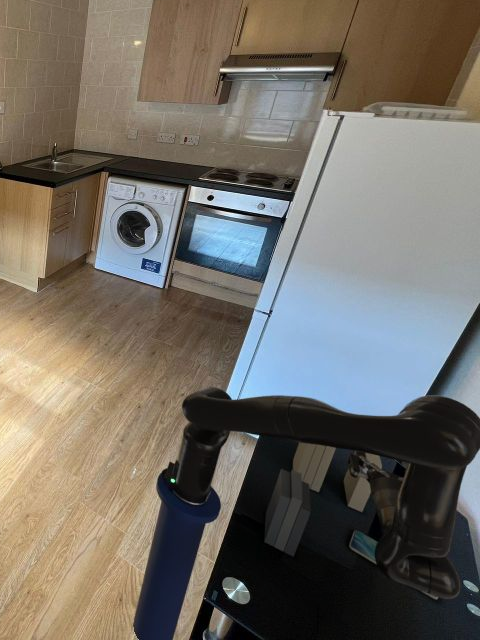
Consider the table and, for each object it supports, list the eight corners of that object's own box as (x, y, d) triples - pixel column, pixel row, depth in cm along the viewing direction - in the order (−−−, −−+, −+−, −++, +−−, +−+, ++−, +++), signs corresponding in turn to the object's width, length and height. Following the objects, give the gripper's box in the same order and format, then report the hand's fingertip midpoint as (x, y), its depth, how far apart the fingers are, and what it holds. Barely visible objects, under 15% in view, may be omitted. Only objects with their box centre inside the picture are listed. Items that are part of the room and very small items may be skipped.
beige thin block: (347, 506, 112) (366, 460, 107) (343, 480, 120) (361, 437, 115) (362, 512, 110) (382, 466, 105) (357, 485, 118) (375, 442, 113)
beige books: (293, 481, 119) (309, 435, 114) (292, 460, 127) (308, 416, 122) (318, 492, 116) (337, 445, 111) (316, 470, 123) (334, 425, 118)
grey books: (264, 542, 101) (281, 491, 96) (265, 513, 109) (282, 465, 104) (293, 556, 98) (313, 505, 93) (293, 526, 106) (311, 477, 100)
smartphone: (438, 599, 89) (349, 545, 100) (437, 602, 89) (348, 548, 100) (441, 577, 93) (355, 528, 104) (439, 580, 94) (354, 531, 105)
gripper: (452, 511, 83) (431, 462, 95) (359, 475, 91) (351, 434, 103) (437, 538, 85) (418, 486, 98) (348, 500, 93) (341, 457, 106)
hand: (383, 459), depth 100 cm, fingers open, 8 cm apart
